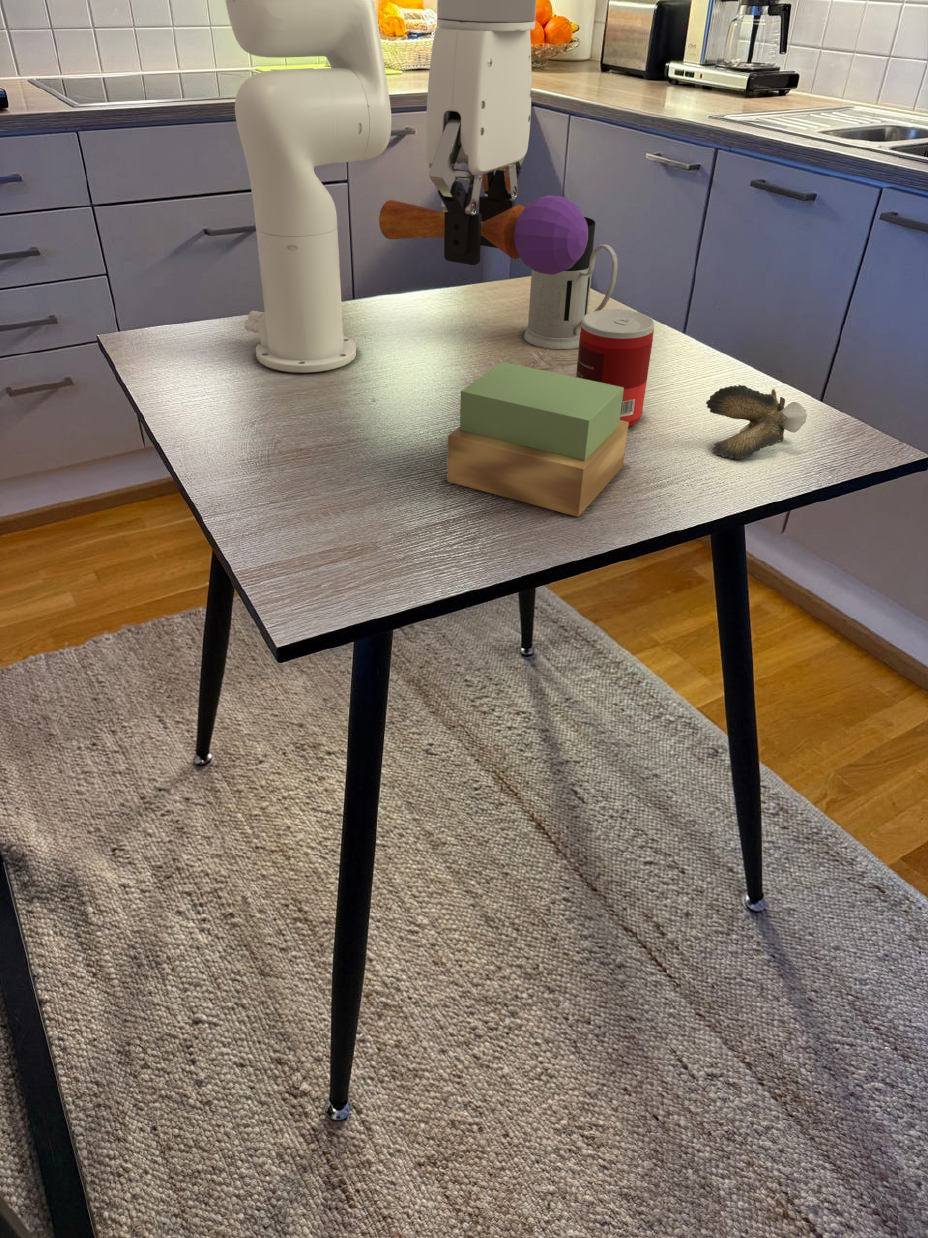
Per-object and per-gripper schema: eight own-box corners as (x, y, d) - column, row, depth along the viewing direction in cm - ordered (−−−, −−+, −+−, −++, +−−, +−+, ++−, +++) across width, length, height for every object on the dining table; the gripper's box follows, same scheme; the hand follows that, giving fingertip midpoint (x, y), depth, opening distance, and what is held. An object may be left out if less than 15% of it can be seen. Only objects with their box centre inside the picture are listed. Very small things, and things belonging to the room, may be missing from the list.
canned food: (651, 412, 108) (665, 316, 101) (624, 437, 102) (637, 337, 96) (590, 397, 111) (600, 304, 104) (560, 421, 105) (569, 323, 99)
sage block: (459, 430, 91) (460, 390, 88) (500, 398, 97) (502, 361, 95) (584, 461, 86) (589, 420, 84) (619, 425, 92) (624, 387, 90)
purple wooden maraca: (412, 185, 86) (605, 199, 76) (409, 254, 89) (595, 276, 79) (370, 181, 82) (568, 196, 72) (368, 254, 84) (560, 278, 74)
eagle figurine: (749, 411, 106) (690, 410, 101) (793, 371, 100) (733, 368, 95) (776, 468, 103) (717, 470, 99) (823, 431, 97) (762, 431, 93)
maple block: (447, 481, 93) (447, 434, 90) (500, 437, 101) (502, 393, 98) (578, 517, 88) (583, 468, 85) (623, 467, 96) (629, 421, 93)
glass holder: (559, 323, 132) (569, 209, 124) (630, 353, 123) (645, 233, 114) (510, 334, 128) (517, 217, 119) (579, 366, 119) (592, 242, 110)
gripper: (494, -1, 79) (486, 228, 89) (382, 6, 66) (389, 270, 77) (577, 3, 76) (559, 239, 86) (476, 12, 63) (469, 285, 74)
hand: (478, 251), depth 81 cm, fingers closed on purple wooden maraca, 5 cm apart
